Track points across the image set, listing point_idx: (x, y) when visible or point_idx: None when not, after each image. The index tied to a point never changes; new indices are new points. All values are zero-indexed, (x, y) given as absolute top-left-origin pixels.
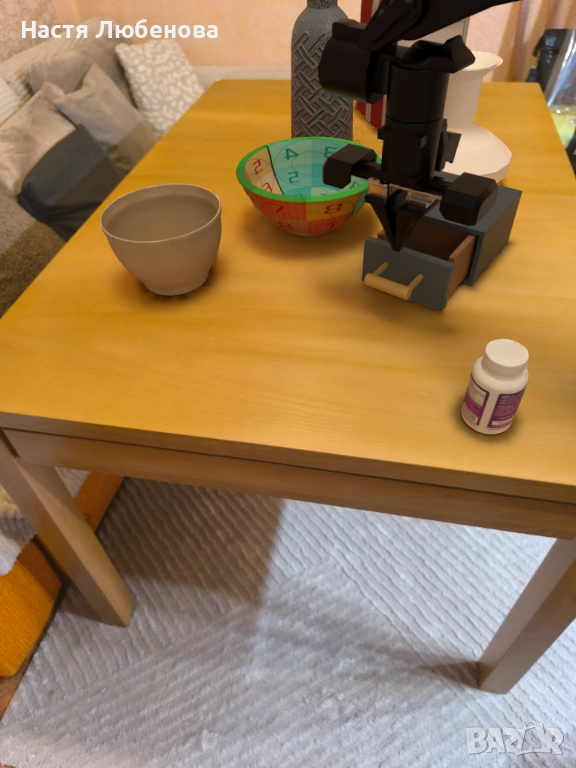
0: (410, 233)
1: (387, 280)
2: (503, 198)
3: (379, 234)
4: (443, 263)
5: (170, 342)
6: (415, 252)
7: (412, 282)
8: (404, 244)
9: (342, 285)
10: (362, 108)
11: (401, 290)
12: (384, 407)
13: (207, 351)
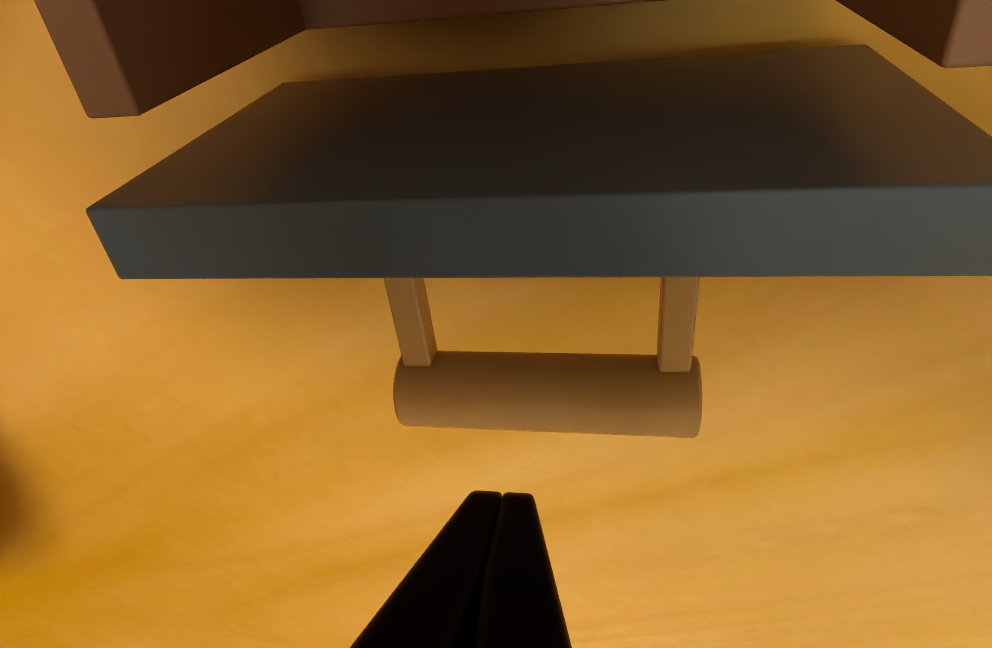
0: (567, 633)
1: (534, 414)
2: None
3: (109, 116)
4: (914, 243)
5: (171, 609)
6: (575, 225)
7: (670, 319)
8: (542, 534)
9: None
10: None
11: (654, 435)
12: (793, 590)
13: (257, 602)
